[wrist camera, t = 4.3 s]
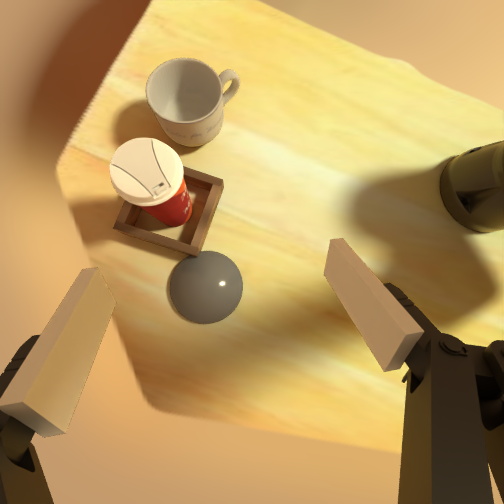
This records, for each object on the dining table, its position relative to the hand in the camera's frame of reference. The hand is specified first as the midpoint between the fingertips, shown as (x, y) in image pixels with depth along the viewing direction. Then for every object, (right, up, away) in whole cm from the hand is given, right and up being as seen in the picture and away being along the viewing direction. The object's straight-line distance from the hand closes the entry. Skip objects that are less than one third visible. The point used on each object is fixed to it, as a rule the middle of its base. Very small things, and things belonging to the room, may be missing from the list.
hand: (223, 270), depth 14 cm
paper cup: (-11, +8, +25) cm, 28 cm away
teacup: (-7, +23, +27) cm, 37 cm away
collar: (-11, +8, +24) cm, 28 cm away
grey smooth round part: (-5, -4, +23) cm, 24 cm away
